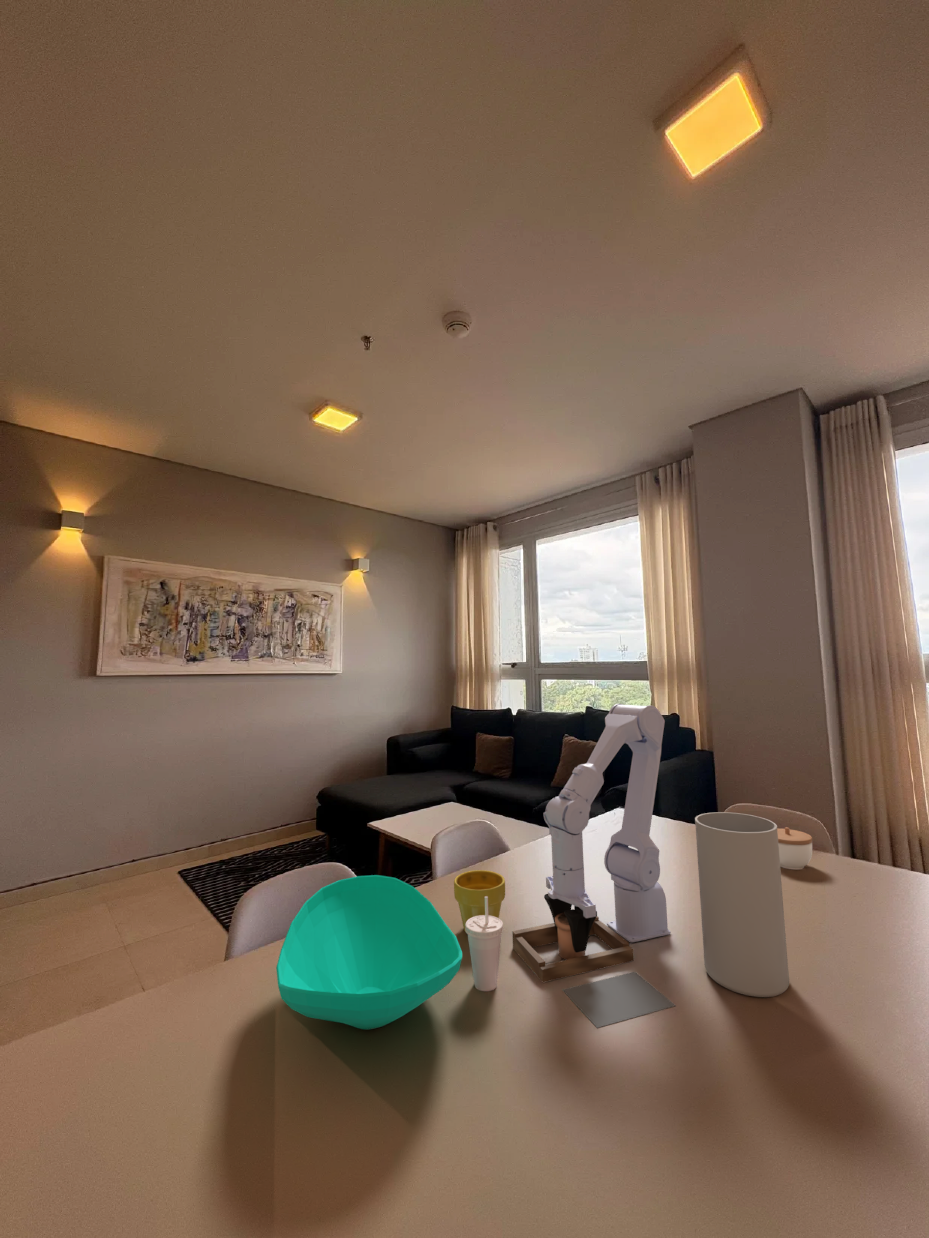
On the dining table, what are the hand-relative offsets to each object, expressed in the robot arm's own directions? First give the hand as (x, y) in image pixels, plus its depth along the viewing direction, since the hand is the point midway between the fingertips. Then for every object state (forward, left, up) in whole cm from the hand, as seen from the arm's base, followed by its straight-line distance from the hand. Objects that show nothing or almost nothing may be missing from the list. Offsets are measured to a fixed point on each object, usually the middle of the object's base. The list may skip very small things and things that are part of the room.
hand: (571, 942), depth 98 cm
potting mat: (0, +14, -2) cm, 14 cm away
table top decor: (+37, +3, -2) cm, 37 cm away
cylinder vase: (-23, +17, -2) cm, 29 cm away
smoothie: (+18, +3, -2) cm, 18 cm away
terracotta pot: (0, 0, -2) cm, 2 cm away
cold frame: (0, 0, -2) cm, 2 cm away
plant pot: (+12, -15, -2) cm, 19 cm away
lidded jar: (-74, -17, -2) cm, 76 cm away
